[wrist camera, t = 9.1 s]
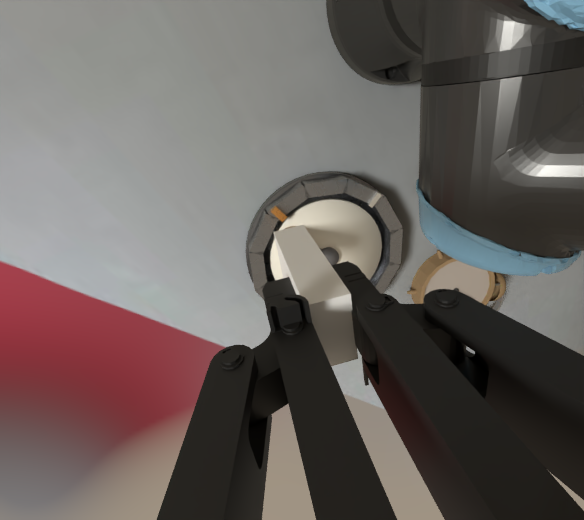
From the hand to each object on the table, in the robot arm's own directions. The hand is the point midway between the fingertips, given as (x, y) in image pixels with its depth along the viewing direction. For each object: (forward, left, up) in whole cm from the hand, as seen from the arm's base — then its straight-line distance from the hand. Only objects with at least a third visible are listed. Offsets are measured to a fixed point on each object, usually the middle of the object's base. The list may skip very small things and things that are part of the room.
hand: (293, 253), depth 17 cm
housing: (-1, +14, -24) cm, 28 cm away
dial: (-1, +14, -23) cm, 27 cm away
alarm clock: (-14, +33, -25) cm, 43 cm away
